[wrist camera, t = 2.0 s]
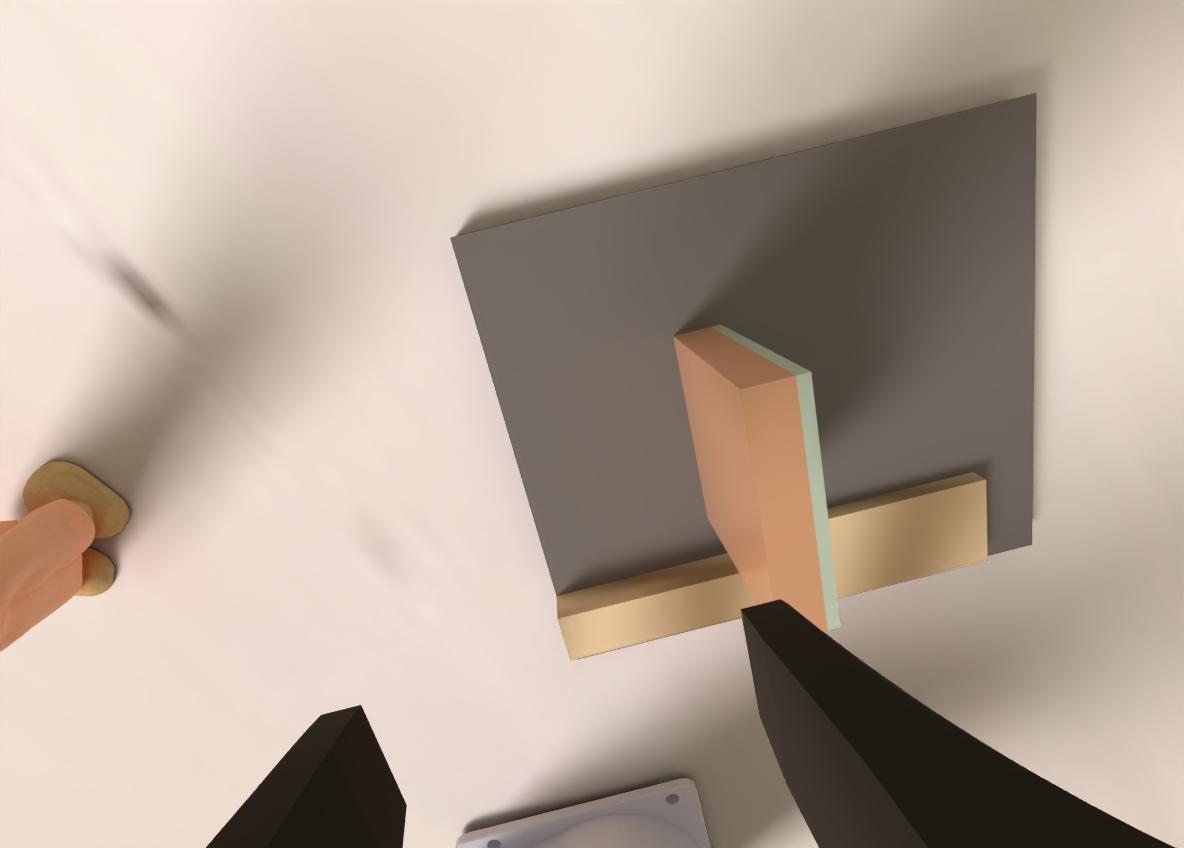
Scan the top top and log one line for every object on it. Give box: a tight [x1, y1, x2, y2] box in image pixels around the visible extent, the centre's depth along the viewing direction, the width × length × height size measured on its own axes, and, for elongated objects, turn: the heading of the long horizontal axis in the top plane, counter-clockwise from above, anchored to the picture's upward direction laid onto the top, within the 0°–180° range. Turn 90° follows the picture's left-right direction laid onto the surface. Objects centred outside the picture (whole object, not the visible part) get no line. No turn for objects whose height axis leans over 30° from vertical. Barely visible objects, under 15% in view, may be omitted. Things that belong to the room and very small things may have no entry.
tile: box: [673, 324, 841, 631], centre depth 15 cm, size 1×6×6 cm, turn 13°
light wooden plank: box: [557, 472, 988, 660], centre depth 19 cm, size 14×3×1 cm, turn 103°
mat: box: [450, 93, 1036, 660], centre depth 18 cm, size 16×14×1 cm
